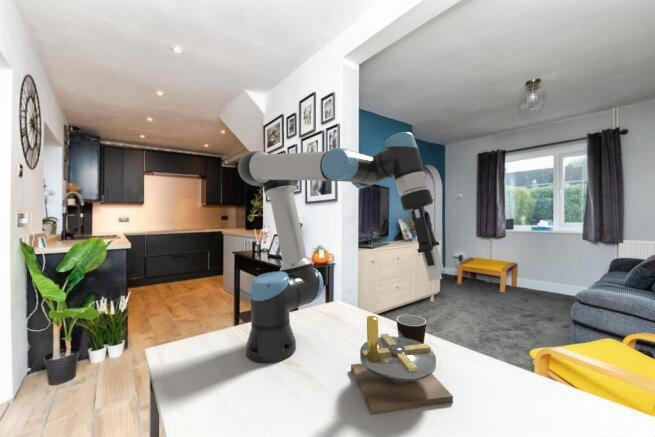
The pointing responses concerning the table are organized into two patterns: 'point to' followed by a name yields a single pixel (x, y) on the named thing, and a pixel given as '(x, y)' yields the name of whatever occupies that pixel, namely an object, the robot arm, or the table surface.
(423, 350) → the handwheel
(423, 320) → the coffee mug
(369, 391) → the wheel stand
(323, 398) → the table surface
